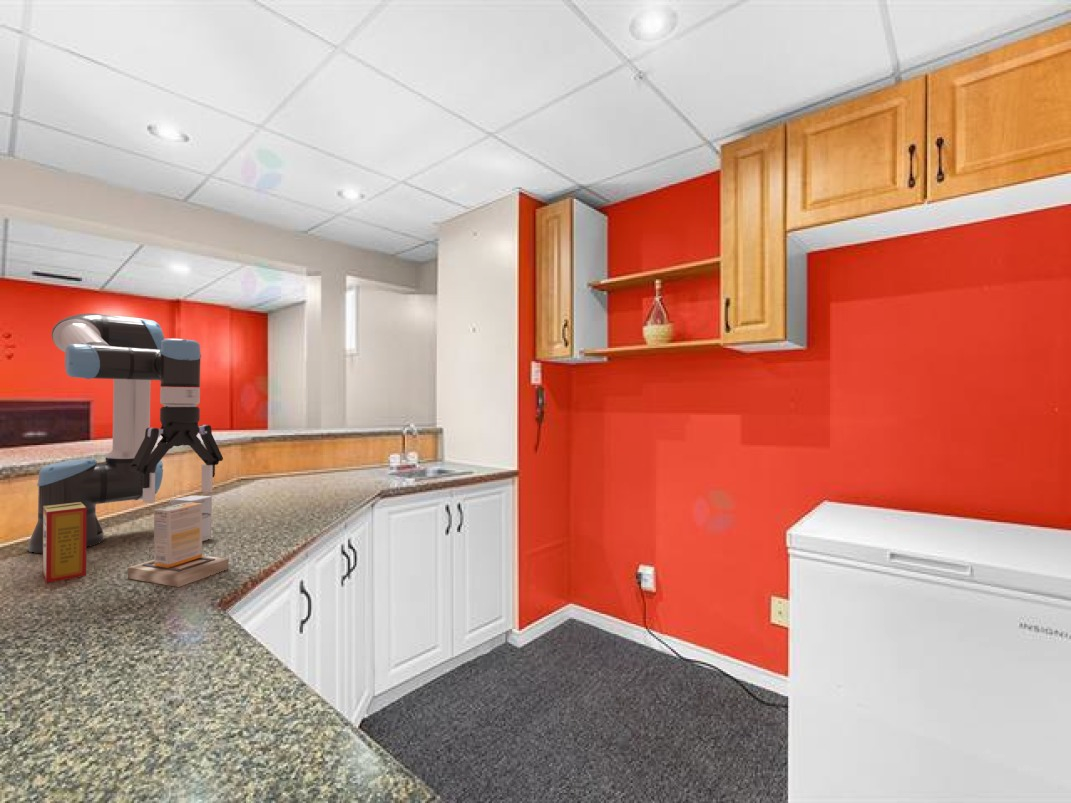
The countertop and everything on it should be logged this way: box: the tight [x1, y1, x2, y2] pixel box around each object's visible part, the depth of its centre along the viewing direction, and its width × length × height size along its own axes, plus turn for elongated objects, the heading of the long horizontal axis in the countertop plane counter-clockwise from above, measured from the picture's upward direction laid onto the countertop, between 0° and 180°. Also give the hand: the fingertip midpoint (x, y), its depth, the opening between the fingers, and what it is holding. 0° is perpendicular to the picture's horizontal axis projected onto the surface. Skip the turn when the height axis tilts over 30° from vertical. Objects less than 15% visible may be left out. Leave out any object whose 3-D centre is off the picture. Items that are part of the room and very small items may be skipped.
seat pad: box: [127, 554, 229, 588], centre depth 116 cm, size 16×12×3 cm
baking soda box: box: [42, 502, 87, 584], centre depth 115 cm, size 10×6×16 cm
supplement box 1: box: [168, 495, 213, 542], centre depth 142 cm, size 7×7×13 cm
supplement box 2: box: [153, 502, 203, 568], centre depth 116 cm, size 8×5×13 cm, turn 161°
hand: (179, 496), depth 116 cm, fingers open, 13 cm apart
